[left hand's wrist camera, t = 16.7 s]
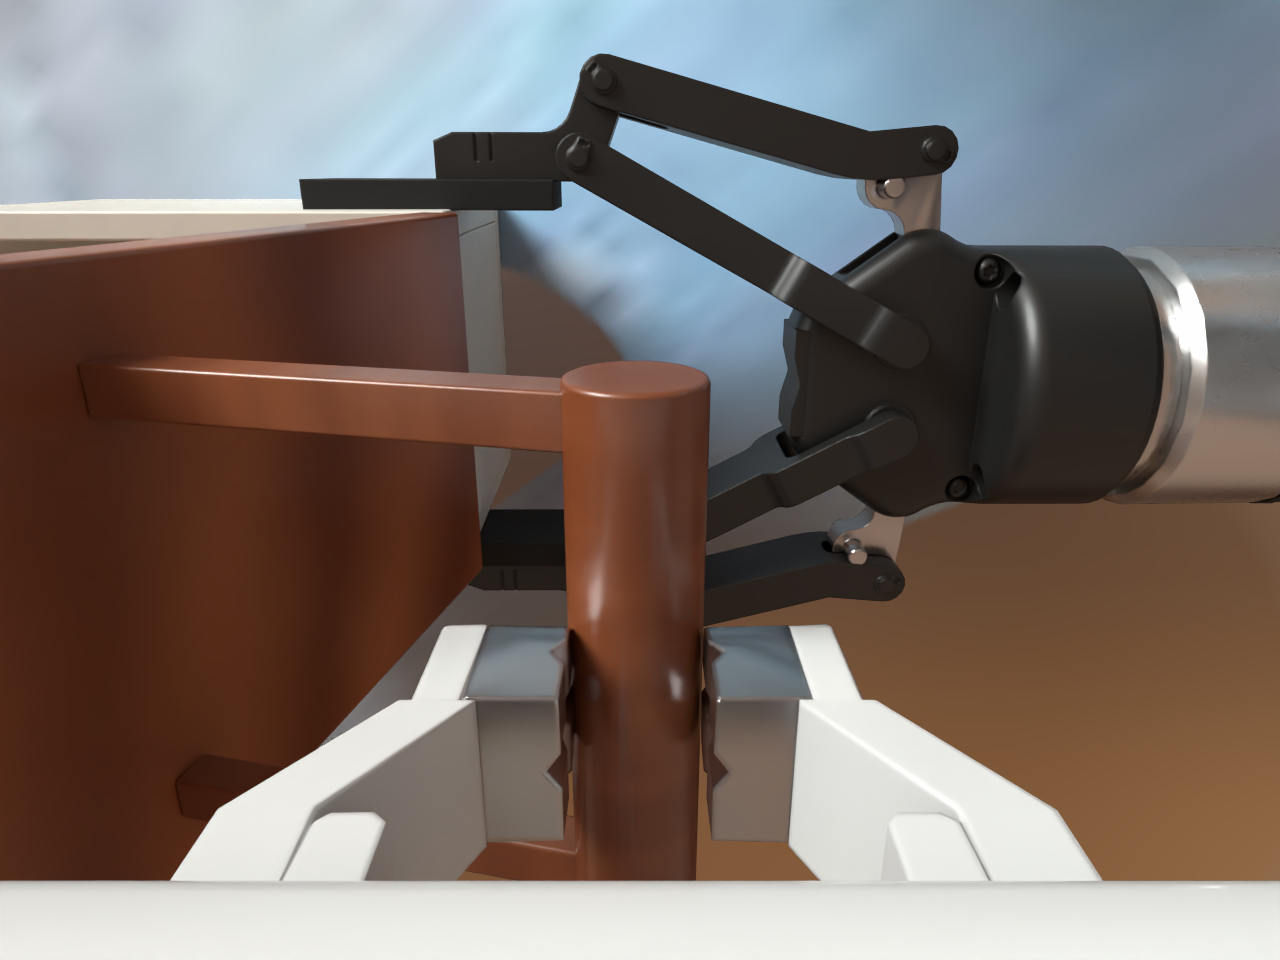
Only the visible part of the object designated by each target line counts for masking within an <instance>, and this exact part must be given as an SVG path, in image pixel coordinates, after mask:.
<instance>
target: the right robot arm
mask: <svg viewBox="0 0 1280 960" xmlns="http://www.w3.org/2000/svg"><path fill="white" fill-rule="evenodd" d="M619 117H621V118H625V119H628V120H631V121H635V122H638V123H642V124H645V125H649V126H652V127H656V128H659V129H663V130H666V131H670V132H673V133H676V134H680V135H683V136H687V137H690V138H694V139H697V140H701V141H704V142H708V143H711V144H715V145H718V146H721V147H725V148H728V149H732V150H735V151H739V152H742V153H746V154H749V155H753V156H756V157H760V158H763V159H766V160H770V161H773V162H777V163H780V164H784V165H787V166H791V167H794V168H798V169H801V170H805V171H808V172H811V173H815V174H819V175H823V176H828V177H832V178H843V179H857V194H858V196H859V198H860V200H861V201H862V202H863V203H864V204H865V205H866V206H868V207H871V208H876V209H881V210H883V211H885V212H887V213H888V214H889V215H890V217H891V218H892V220H893V222H894V228H895V232H893V233H891V234H890V235H888V236H887V237H886V238H884V239H883V240H881V241H880V242H879V243H877V244H876V245H874V246H873V247H871V248H870V249H869V250H867V251H866V252H864V253H863V254H861V255H860V256H859V257H857V258H856V259H854V260H853V261H851V262H850V263H849V264H847V265H846V266H844V267H843V268H841V269H840V270H839V271H837V272H836V273H834V274H833V275H829V274H828V273H826V272H824V271H822V270H821V269H819V268H817V267H816V266H814V265H812V264H810V263H809V262H807V261H805V260H803V259H802V258H800V257H798V256H796V255H795V254H793V253H791V252H789V251H788V250H786V249H784V248H783V247H781V246H779V245H777V244H776V243H774V242H772V241H771V240H769V239H767V238H765V237H764V236H762V235H760V234H759V233H757V232H755V231H753V230H752V229H750V228H748V227H747V226H745V225H743V224H741V223H740V222H738V221H736V220H734V219H733V218H731V217H729V216H728V215H726V214H724V213H722V212H721V211H719V210H717V209H716V208H714V207H712V206H710V205H709V204H707V203H705V202H704V201H702V200H700V199H698V198H697V197H695V196H693V195H692V194H690V193H688V192H686V191H685V190H683V189H681V188H679V187H678V186H676V185H674V184H673V183H671V182H669V181H667V180H666V179H664V178H662V177H661V176H659V175H657V174H655V173H654V172H652V171H650V170H649V169H647V168H645V167H643V166H642V165H640V164H638V163H637V162H635V161H633V160H631V159H630V158H628V157H626V156H624V155H623V154H621V153H619V152H618V151H616V150H614V149H612V148H611V147H610V144H611V141H612V138H613V135H614V132H615V129H616V125H617V122H618V119H619ZM433 142H434V156H435V169H436V179H407V178H328V179H299V182H300V189H301V197H302V205H303V209H449V210H553V211H554V210H556V209H558V208H559V207H561V206H562V197H561V181H572V182H574V183H576V184H578V185H579V186H581V187H583V188H585V189H586V190H588V191H590V192H592V193H594V194H595V195H597V196H599V197H601V198H602V199H604V200H606V201H608V202H609V203H611V204H613V205H615V206H616V207H618V208H620V209H622V210H623V211H625V212H627V213H629V214H630V215H632V216H634V217H636V218H637V219H639V220H641V221H643V222H644V223H646V224H648V225H650V226H652V227H653V228H655V229H657V230H659V231H660V232H662V233H664V234H666V235H667V236H669V237H671V238H673V239H674V240H676V241H678V242H680V243H681V244H683V245H685V246H687V247H688V248H690V249H692V250H694V251H695V252H697V253H699V254H701V255H702V256H704V257H706V258H708V259H710V260H711V261H713V262H715V263H717V264H718V265H720V266H722V267H724V268H725V269H727V270H729V271H731V272H732V273H734V274H736V275H738V276H739V277H741V278H743V279H745V280H746V281H748V282H750V283H752V284H753V285H755V286H757V287H759V288H760V289H762V290H764V291H766V292H767V293H769V294H771V295H772V296H774V297H776V298H777V299H779V300H780V301H782V302H784V303H785V304H787V305H789V306H790V307H792V308H794V309H793V310H792V313H791V315H790V317H789V319H784V332H783V348H784V352H785V357H786V362H787V367H788V371H787V375H786V378H785V381H784V384H783V387H782V390H781V392H780V399H779V416H778V419H779V420H780V422H781V424H782V425H783V426H781V427H779V428H777V429H775V430H773V431H771V432H769V433H767V434H765V435H763V436H762V437H760V438H758V439H757V440H756V441H755V442H754V443H753V445H752V446H751V447H750V448H748V449H747V450H745V451H743V452H741V453H739V454H737V455H735V456H733V457H731V458H729V459H727V460H725V461H723V462H721V463H719V464H717V465H715V466H713V467H711V468H709V469H708V487H707V521H706V542H707V541H710V540H712V539H714V538H716V537H718V536H720V535H722V534H724V533H726V532H728V531H730V530H732V529H734V528H736V527H738V526H740V525H742V524H744V523H746V522H748V521H750V520H752V519H754V518H756V517H758V516H760V515H762V514H764V513H766V512H768V511H770V510H772V509H775V508H778V507H786V508H788V507H793V506H796V505H798V504H801V503H803V502H805V501H807V500H809V499H811V498H813V497H815V496H817V495H819V494H821V493H823V492H825V491H827V490H829V489H831V488H833V487H835V486H837V485H839V486H841V487H842V488H843V489H845V490H846V491H848V492H849V493H850V494H852V495H853V496H854V497H856V498H857V499H859V500H860V501H861V502H863V503H864V504H866V506H865V508H864V509H863V511H862V512H861V513H860V514H858V515H857V516H855V517H853V518H848V519H839V520H836V521H835V522H834V523H833V524H832V526H831V527H830V529H829V530H828V532H821V531H820V532H807V533H801V534H796V535H791V536H786V537H782V538H778V539H774V540H770V541H766V542H762V543H757V544H753V545H749V546H745V547H741V548H737V549H733V550H728V551H724V552H720V553H716V554H712V555H708V556H705V587H704V621H703V627H704V626H708V625H712V624H716V623H721V622H725V621H729V620H733V619H738V618H742V617H746V616H751V615H755V614H759V613H763V612H768V611H772V610H776V609H781V608H785V607H789V606H793V605H798V604H802V603H806V602H810V601H815V600H819V599H823V598H827V597H833V598H846V599H858V600H871V601H890V600H892V599H894V598H896V597H897V596H898V595H899V594H900V593H901V592H902V591H903V588H904V586H905V578H904V576H903V574H902V572H901V571H900V569H899V568H898V566H897V565H896V558H897V553H898V549H899V544H900V539H901V535H902V530H903V525H904V521H905V516H909V515H912V514H914V513H916V512H918V511H920V510H922V509H924V508H927V507H929V506H932V505H935V504H938V503H942V502H965V503H979V504H1074V503H1076V504H1078V503H1079V504H1080V503H1090V502H1093V501H1096V500H1099V499H1100V498H1103V499H1104V500H1107V501H1111V502H1114V503H1118V504H1164V503H1232V502H1233V503H1235V502H1249V503H1274V502H1280V247H1241V246H1137V247H1129V248H1127V249H1125V250H1122V251H1120V252H1118V251H1116V250H1114V249H1112V248H1109V247H1106V246H978V245H965V244H963V243H961V242H959V241H957V240H955V239H954V238H952V237H951V236H949V235H948V234H946V233H944V232H942V231H940V215H941V184H942V173H943V172H944V171H946V170H947V169H948V168H950V167H951V166H952V164H953V162H954V161H955V159H956V157H957V153H958V141H957V138H956V136H955V135H954V133H953V131H951V130H950V129H948V128H947V127H945V126H938V125H933V126H922V127H912V128H901V129H891V130H880V131H867V130H863V129H860V128H857V127H853V126H850V125H846V124H843V123H840V122H836V121H833V120H830V119H826V118H823V117H819V116H816V115H813V114H809V113H806V112H803V111H799V110H796V109H792V108H789V107H786V106H782V105H779V104H775V103H772V102H769V101H765V100H762V99H759V98H755V97H752V96H748V95H745V94H742V93H738V92H735V91H732V90H728V89H725V88H721V87H718V86H715V85H711V84H708V83H705V82H701V81H698V80H694V79H691V78H688V77H684V76H681V75H677V74H674V73H671V72H667V71H664V70H661V69H657V68H654V67H650V66H647V65H644V64H640V63H637V62H634V61H630V60H627V59H623V58H620V57H617V56H613V55H610V54H597V55H595V56H592V57H590V58H589V59H588V60H587V61H586V62H585V63H584V65H583V67H582V69H581V72H580V80H579V83H578V86H577V90H576V93H575V96H574V99H573V102H572V106H571V109H570V112H569V114H568V116H567V118H566V119H565V121H564V122H563V123H562V124H561V125H560V126H559V127H557V128H556V129H554V130H551V131H548V132H451V133H449V134H447V135H444V136H442V137H440V138H438V139H435V140H433ZM480 537H481V551H482V565H483V567H482V570H481V571H480V572H479V573H478V574H477V575H476V576H475V577H474V578H473V579H472V581H471V582H470V583H469V584H468V585H470V586H473V587H476V588H479V589H482V590H502V589H504V590H515V589H517V590H563V591H567V587H566V556H565V526H564V509H508V510H489V512H488V514H487V517H486V519H485V522H484V524H483V527H482V529H481V531H480Z"/></svg>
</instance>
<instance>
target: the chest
mask: <svg viewBox="0 0 1280 960" xmlns="http://www.w3.org/2000/svg"><path fill="white" fill-rule="evenodd" d="M419 212H445V213H456V214H457V215H458V224H459V239H460V253H461V267H462V281H463V295H464V310H465V324H466V338H467V352H468V367H469V373H480V374H498V375H507V371H506V352H505V334H504V316H503V298H502V280H501V261H500V243H499V225H498V210H449V209H303V205H302V199H99V200H81V201H64V202H46V203H28V204H11V205H0V254H10V253H20V252H30V251H40V250H50V249H60V248H70V247H80V246H90V245H100V244H110V243H120V242H130V241H140V240H150V239H160V238H170V237H180V236H190V235H200V234H210V233H220V232H230V231H240V230H250V229H260V228H270V227H280V226H289V225H299V224H309V223H319V222H329V221H339V220H349V219H359V218H369V217H379V216H389V215H399V214H409V213H419ZM474 452H475V466H476V480H477V494H478V509H479V523H480V531H481V529H482V527H483V524H484V522H485V519H486V517H487V514H488V512H489V510H490V507H491V505H492V502H493V500H494V497H495V495H496V493H497V490H498V488H499V485H500V483H501V480H502V478H503V476H504V473H505V471H506V468H507V466H508V463H509V461H510V459H511V449H504V448H491V447H477V446H474Z"/></svg>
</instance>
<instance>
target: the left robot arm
mask: <svg viewBox="0 0 1280 960" xmlns="http://www.w3.org/2000/svg"><path fill="white" fill-rule="evenodd" d="M702 661H703V669H704V678H705V688H704V689H703V691H702V692H701V742H702V756H703V767H704V771H705V772H706V773H707V804H708V813H709V821H710V830H711V838H712V840H718V841H754V842H789V844H788V846H789V847H790V848H791V849H792V850H793V852H794V853H795V854H796V855H797V856H798V857H799V858H800V859H801V860H802V862H803V863H804V864H805V865H806V866H807V867H808V868H809V869H810V870H811V871H812V873H813V874H814V875H815V876H816V877H817V878H818V879H819V880H820V881H456V880H457V879H458V878H459V876H460V875H461V874H462V873H463V872H464V871H465V870H466V869H467V868H468V867H469V865H470V864H471V863H472V862H473V861H474V860H475V859H476V858H477V857H478V856H479V855H480V853H481V852H482V851H483V850H484V849H485V848H486V847H487V844H486V842H520V841H555V840H564V833H565V824H566V816H567V808H568V800H569V787H568V774H569V773H570V772H571V771H572V764H573V754H574V735H575V728H574V698H573V694H572V691H571V687H570V684H571V675H572V667H573V662H572V634H571V627H548V626H495V625H490V626H489V627H488V626H487V625H449V626H446V627H444V628H443V629H442V631H441V633H440V636H439V638H438V640H437V643H436V645H435V647H434V649H433V652H432V654H431V656H430V659H429V661H428V663H427V665H426V668H425V670H424V672H423V675H422V677H421V679H420V682H419V684H418V686H417V688H416V691H415V693H414V695H413V698H412V700H398V701H397V702H395V703H393V704H392V705H390V706H388V707H387V708H385V709H383V710H382V711H380V712H378V713H377V714H375V715H373V716H372V717H370V718H368V719H367V720H365V721H363V722H362V723H360V724H358V725H357V726H355V727H353V728H352V729H350V730H348V731H347V732H345V733H343V734H342V735H340V736H338V737H337V738H335V739H333V740H332V741H330V742H328V743H327V744H325V745H323V746H322V747H320V748H318V749H317V750H315V751H313V752H312V753H310V754H308V755H307V756H305V757H303V758H302V759H300V760H298V761H297V762H295V763H293V764H292V765H290V766H288V767H287V768H285V769H283V770H282V771H280V772H279V773H277V774H275V775H274V776H272V777H270V778H269V779H267V780H265V781H264V782H262V783H260V784H259V785H257V786H255V787H254V788H252V789H250V790H249V791H247V792H245V793H244V794H242V795H240V796H239V797H237V798H235V799H234V800H232V801H230V802H229V803H227V804H225V805H224V806H222V807H220V808H219V809H217V811H216V812H215V814H214V815H213V817H212V818H211V820H210V821H209V823H208V824H207V826H206V827H205V829H204V830H203V832H202V833H201V835H200V836H199V838H198V839H197V841H196V842H195V844H194V845H193V847H192V848H191V850H190V851H189V853H188V854H187V856H186V857H185V859H184V860H183V862H182V863H181V865H180V866H179V868H178V869H177V871H176V872H175V874H174V875H173V877H172V878H171V880H170V881H0V960H1280V881H1103V880H1102V878H1101V877H1100V875H1099V874H1098V872H1097V871H1096V869H1095V868H1094V866H1093V865H1092V863H1091V862H1090V860H1089V858H1088V857H1087V855H1086V854H1085V852H1084V851H1083V849H1082V848H1081V846H1080V845H1079V843H1078V842H1077V840H1076V838H1075V837H1074V835H1073V834H1072V832H1071V831H1070V829H1069V828H1068V826H1067V825H1066V823H1065V822H1064V820H1063V819H1062V817H1061V815H1060V814H1059V812H1058V811H1057V810H1056V809H1054V808H1053V807H1051V806H1049V805H1048V804H1046V803H1044V802H1043V801H1041V800H1039V799H1038V798H1036V797H1034V796H1033V795H1031V794H1030V793H1028V792H1026V791H1025V790H1023V789H1021V788H1020V787H1018V786H1016V785H1015V784H1013V783H1011V782H1010V781H1008V780H1007V779H1005V778H1003V777H1002V776H1000V775H998V774H997V773H995V772H993V771H992V770H990V769H988V768H987V767H985V766H983V765H982V764H980V763H979V762H977V761H975V760H974V759H972V758H970V757H969V756H967V755H965V754H964V753H962V752H960V751H959V750H957V749H955V748H954V747H952V746H951V745H949V744H947V743H946V742H944V741H942V740H941V739H939V738H937V737H936V736H934V735H932V734H931V733H929V732H927V731H926V730H924V729H923V728H921V727H919V726H918V725H916V724H914V723H913V722H911V721H909V720H908V719H906V718H904V717H903V716H901V715H900V714H898V713H896V712H894V711H893V710H891V709H890V708H888V707H886V706H885V705H883V704H881V703H880V702H878V701H876V700H863V698H862V696H861V693H860V691H859V689H858V686H857V684H856V682H855V680H854V677H853V675H852V673H851V670H850V668H849V666H848V663H847V661H846V659H845V656H844V654H843V652H842V649H841V647H840V645H839V642H838V640H837V638H836V635H835V633H834V631H833V629H832V627H830V626H829V625H827V624H823V625H801V626H746V627H706V628H705V629H704V636H703V656H702Z"/></svg>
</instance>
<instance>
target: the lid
mask: <svg viewBox="0 0 1280 960" xmlns="http://www.w3.org/2000/svg"><path fill="white" fill-rule="evenodd" d="M710 387H711V383H710V380H709V377H708V376H707V374H705V373H704V372H702V371H700V370H697V369H695V368H692V367H688V366H685V365H680V364H674V363H667V362H657V361H614V362H604V363H596V364H591V365H586V366H582V367H579V368H576V369H573V370H571V371H568V372H567V373H565V374H564V375H563V376H562V378H552V377H534V376H515V375H498V374H480V373H469V367H468V352H467V338H466V324H465V310H464V295H463V281H462V267H461V253H460V239H459V224H458V215H457V214H456V213H445V212H419V213H409V214H399V215H389V216H379V217H369V218H359V219H349V220H339V221H329V222H319V223H309V224H299V225H289V226H280V227H270V228H260V229H250V230H240V231H230V232H220V233H210V234H200V235H190V236H180V237H170V238H160V239H150V240H140V241H130V242H120V243H110V244H100V245H90V246H80V247H70V248H60V249H50V250H40V251H30V252H20V253H10V254H0V881H170V880H171V878H172V877H173V875H174V874H175V872H176V871H177V869H178V868H179V866H180V865H181V863H182V862H183V860H184V859H185V857H186V856H187V854H188V853H189V851H190V850H191V848H192V847H193V845H194V844H195V842H196V841H197V839H198V838H199V836H200V835H201V833H202V832H203V830H204V829H205V827H206V826H207V824H208V823H209V821H210V820H211V818H212V817H213V815H214V814H215V812H216V811H217V809H219V808H220V807H222V806H224V805H225V804H227V803H229V802H230V801H232V800H234V799H235V798H237V797H239V796H240V795H242V794H244V793H245V792H247V791H249V790H250V789H252V788H254V787H255V786H257V785H259V784H260V783H262V782H264V781H265V780H267V779H269V778H270V777H272V776H274V775H275V774H277V773H279V772H280V771H282V770H283V769H285V768H287V767H288V766H290V765H292V764H293V763H295V762H297V761H298V760H300V759H302V758H303V757H305V756H307V755H308V754H310V753H312V752H313V751H315V750H316V749H317V748H318V747H319V746H320V745H321V744H322V743H323V742H324V741H325V740H326V738H327V737H328V736H329V735H330V734H331V733H332V732H333V731H334V730H335V729H336V728H337V727H338V725H339V724H340V723H341V722H342V721H343V720H344V719H345V718H346V717H347V716H348V715H349V713H350V712H351V711H352V710H353V709H354V708H355V707H356V706H357V705H358V704H359V703H360V701H361V700H362V699H363V698H364V697H365V696H366V695H367V694H368V693H369V692H370V691H371V689H372V688H373V687H374V686H375V685H376V684H377V683H378V682H379V681H380V680H381V679H382V677H383V676H384V675H385V674H386V673H387V672H388V671H389V670H390V669H391V668H392V667H393V666H394V664H395V663H396V662H397V661H398V660H399V659H400V658H401V657H402V656H403V655H404V654H405V652H406V651H407V650H408V649H409V648H410V647H411V646H412V645H413V644H414V643H415V642H416V640H417V639H418V638H419V637H420V636H421V635H422V634H423V633H424V632H425V631H426V630H427V628H428V627H429V626H430V625H431V624H432V623H433V622H434V621H435V620H436V619H437V618H438V616H439V615H440V614H441V613H442V612H443V611H444V610H445V609H446V608H447V607H448V606H449V605H450V603H451V602H452V601H453V600H454V599H455V598H456V597H457V596H458V595H459V594H460V593H461V591H462V590H463V589H464V588H465V587H466V586H467V585H468V584H469V583H470V582H471V581H472V579H473V578H474V577H475V576H476V575H477V574H478V573H479V572H480V571H481V570H482V567H483V565H482V551H481V537H480V523H479V509H478V494H477V480H476V466H475V452H474V446H477V447H491V448H504V449H517V450H531V451H544V452H557V453H562V465H563V496H564V526H565V556H566V587H567V617H568V627H571V634H572V662H573V667H572V675H571V684H570V687H571V691H572V694H573V698H574V728H575V735H574V754H573V764H572V770H573V800H574V816H568V815H567V816H566V824H565V833H564V840H555V841H520V842H486V844H487V847H486V848H485V849H484V850H483V851H482V852H481V853H480V855H479V856H478V857H477V858H476V859H475V860H474V861H473V862H472V863H471V864H470V865H469V867H468V868H467V869H466V870H465V871H469V872H474V873H480V874H485V875H490V876H496V877H501V878H506V879H511V880H516V881H696V854H697V820H698V787H699V754H700V721H701V687H702V654H703V621H704V587H705V554H706V521H707V487H708V454H709V421H710Z"/></svg>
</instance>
